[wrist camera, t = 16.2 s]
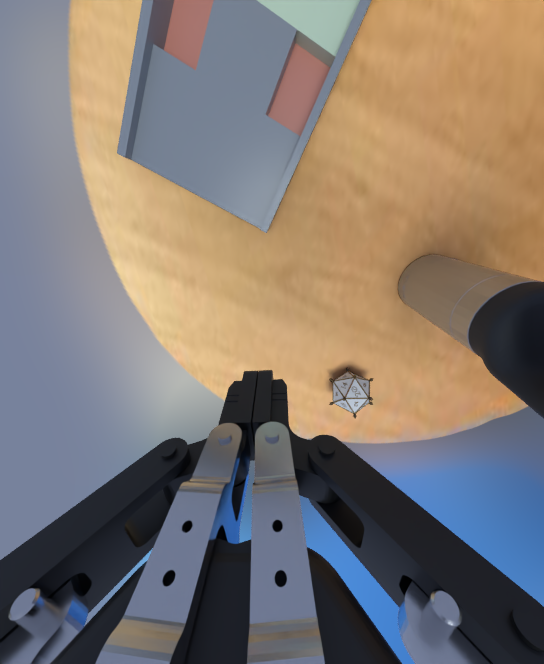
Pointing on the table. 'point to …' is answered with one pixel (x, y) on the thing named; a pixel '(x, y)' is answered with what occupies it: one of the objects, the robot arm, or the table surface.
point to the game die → (351, 392)
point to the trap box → (233, 93)
